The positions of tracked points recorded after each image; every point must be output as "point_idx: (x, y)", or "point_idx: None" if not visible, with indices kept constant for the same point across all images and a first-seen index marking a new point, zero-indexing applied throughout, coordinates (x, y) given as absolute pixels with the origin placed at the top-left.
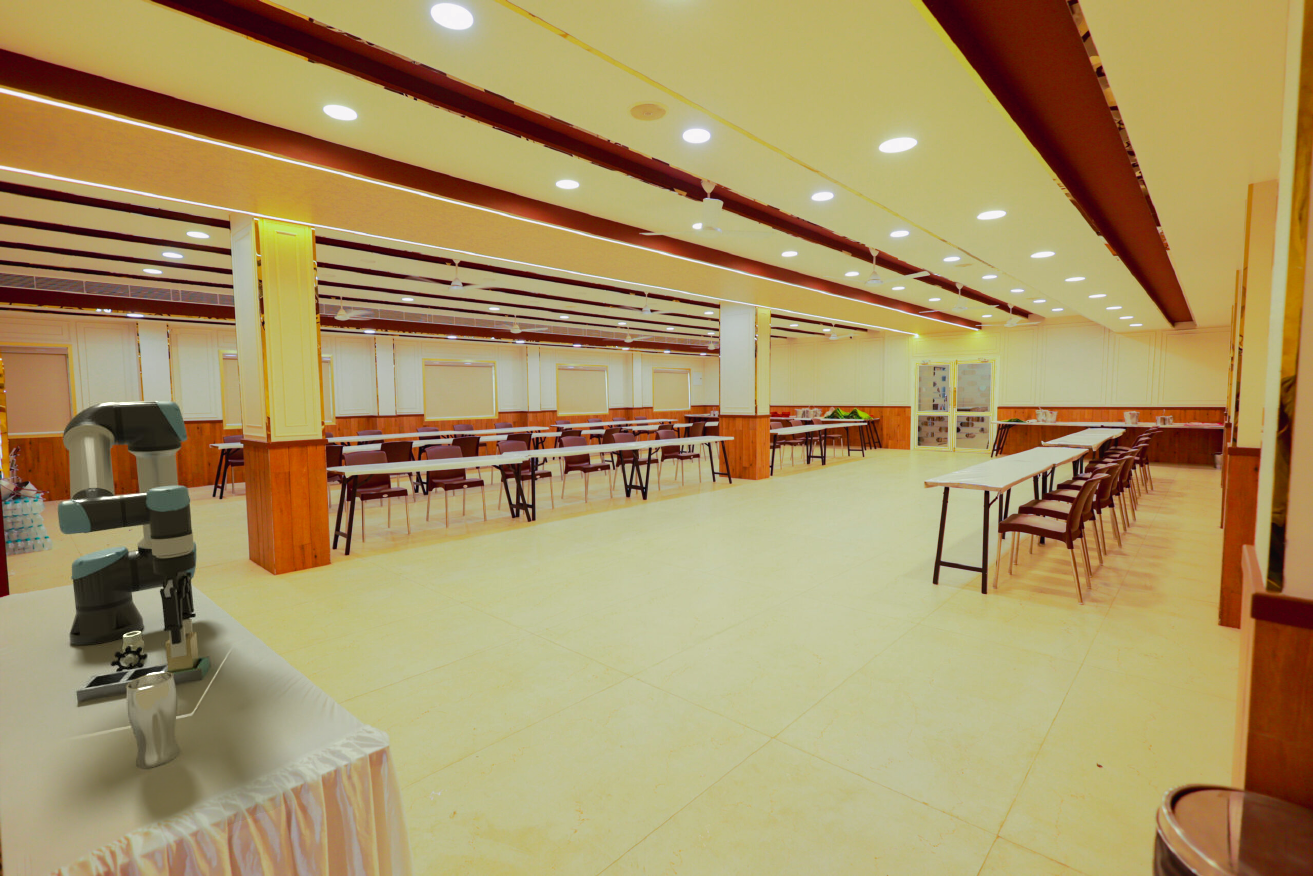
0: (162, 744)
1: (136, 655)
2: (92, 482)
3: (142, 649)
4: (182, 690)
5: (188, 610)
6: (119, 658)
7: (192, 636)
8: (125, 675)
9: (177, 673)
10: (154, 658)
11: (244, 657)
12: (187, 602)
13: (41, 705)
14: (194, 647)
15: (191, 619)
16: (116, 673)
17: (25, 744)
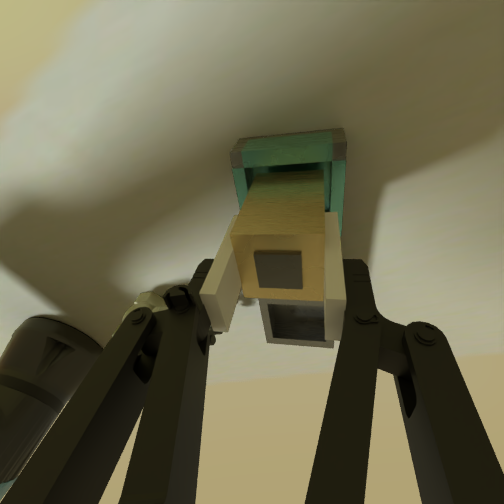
0: None
1: (155, 304)
2: None
3: (141, 304)
4: (380, 166)
5: (191, 343)
6: (214, 331)
7: (286, 234)
8: (290, 304)
9: (342, 206)
10: (155, 275)
11: (172, 41)
12: (181, 403)
13: (306, 355)
14: (278, 204)
15: (201, 290)
16: (269, 317)
17: (469, 347)
